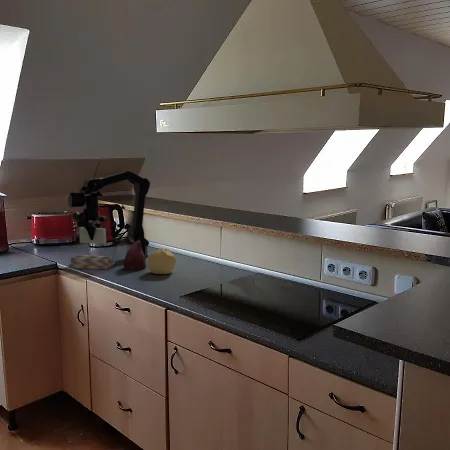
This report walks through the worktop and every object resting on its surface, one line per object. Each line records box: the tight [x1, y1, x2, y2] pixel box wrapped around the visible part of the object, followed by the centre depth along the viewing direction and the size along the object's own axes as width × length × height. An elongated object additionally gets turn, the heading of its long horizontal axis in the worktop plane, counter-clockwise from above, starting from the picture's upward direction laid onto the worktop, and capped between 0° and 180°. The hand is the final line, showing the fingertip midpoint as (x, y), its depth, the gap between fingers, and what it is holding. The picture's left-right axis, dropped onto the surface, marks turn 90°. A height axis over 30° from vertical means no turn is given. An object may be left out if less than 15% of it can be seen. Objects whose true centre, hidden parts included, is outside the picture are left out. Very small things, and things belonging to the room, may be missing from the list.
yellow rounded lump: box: [147, 248, 177, 275], centre depth 210 cm, size 11×12×11 cm
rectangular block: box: [78, 227, 107, 245], centre depth 224 cm, size 12×2×7 cm, turn 78°
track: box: [68, 254, 116, 270], centre depth 223 cm, size 18×10×4 cm, turn 79°
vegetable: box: [123, 240, 147, 272], centre depth 218 cm, size 10×10×15 cm
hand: (93, 239), depth 224 cm, fingers closed on rectangular block, 2 cm apart
